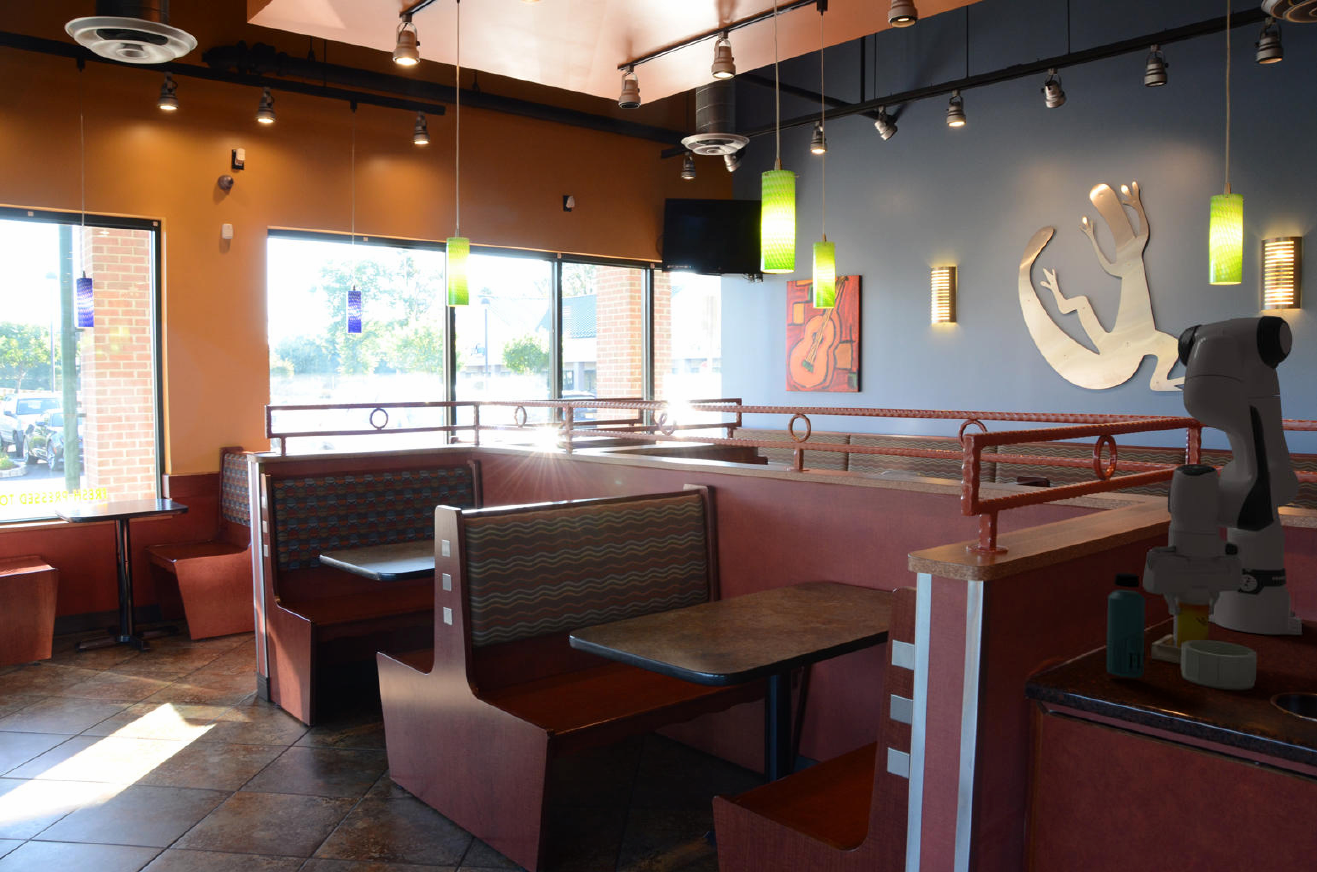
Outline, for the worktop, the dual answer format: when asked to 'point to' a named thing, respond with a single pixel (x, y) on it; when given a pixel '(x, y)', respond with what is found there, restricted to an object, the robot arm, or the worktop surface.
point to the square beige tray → (1166, 650)
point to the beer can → (1192, 616)
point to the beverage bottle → (1126, 629)
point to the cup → (1218, 664)
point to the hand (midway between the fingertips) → (1191, 613)
